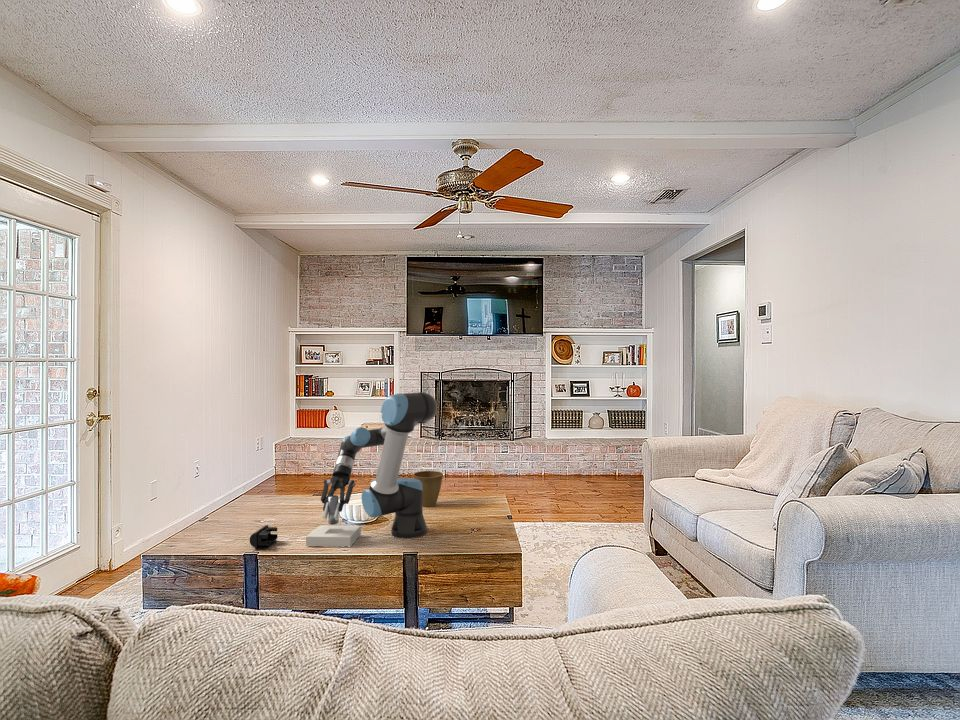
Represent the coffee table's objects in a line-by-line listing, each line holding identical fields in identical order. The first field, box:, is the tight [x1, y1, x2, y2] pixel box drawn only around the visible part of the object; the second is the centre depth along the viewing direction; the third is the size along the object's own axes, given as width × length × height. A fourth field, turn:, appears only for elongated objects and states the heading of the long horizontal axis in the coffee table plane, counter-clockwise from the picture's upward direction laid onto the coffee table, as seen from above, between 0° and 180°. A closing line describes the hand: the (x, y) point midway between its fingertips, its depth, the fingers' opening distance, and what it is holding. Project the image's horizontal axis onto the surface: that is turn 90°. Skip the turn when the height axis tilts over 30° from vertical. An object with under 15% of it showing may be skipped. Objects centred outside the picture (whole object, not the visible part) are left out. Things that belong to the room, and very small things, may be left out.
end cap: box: [249, 524, 278, 550], centre depth 216 cm, size 10×7×7 cm
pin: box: [327, 494, 340, 526], centre depth 220 cm, size 4×4×11 cm
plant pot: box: [412, 470, 444, 508], centre depth 270 cm, size 15×15×16 cm
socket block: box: [305, 524, 362, 548], centre depth 219 cm, size 18×14×4 cm
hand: (330, 518), depth 216 cm, fingers closed on pin, 4 cm apart
